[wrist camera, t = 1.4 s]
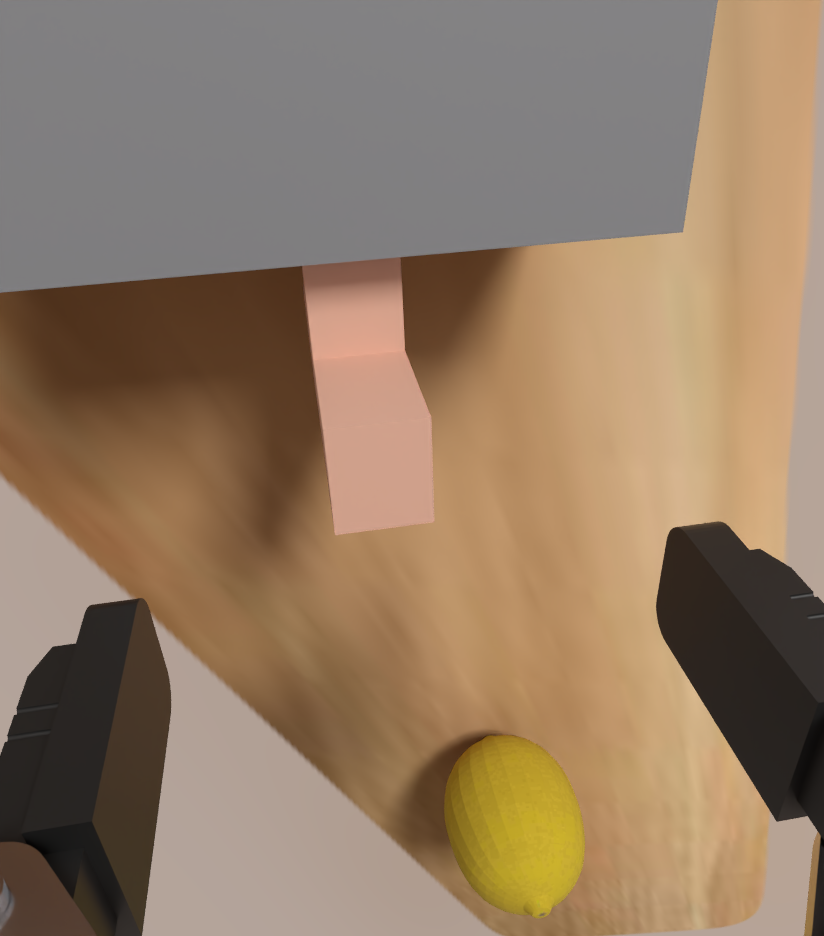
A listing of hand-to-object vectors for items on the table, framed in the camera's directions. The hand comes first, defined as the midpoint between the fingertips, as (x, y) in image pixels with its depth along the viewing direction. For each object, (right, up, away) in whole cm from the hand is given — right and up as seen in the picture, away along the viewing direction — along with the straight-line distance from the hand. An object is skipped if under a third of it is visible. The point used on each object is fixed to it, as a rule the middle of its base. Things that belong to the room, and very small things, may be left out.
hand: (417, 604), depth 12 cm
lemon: (+3, -10, +24) cm, 26 cm away
